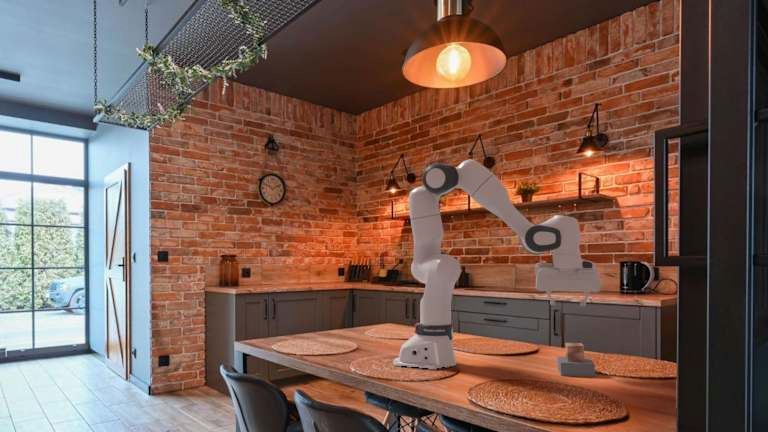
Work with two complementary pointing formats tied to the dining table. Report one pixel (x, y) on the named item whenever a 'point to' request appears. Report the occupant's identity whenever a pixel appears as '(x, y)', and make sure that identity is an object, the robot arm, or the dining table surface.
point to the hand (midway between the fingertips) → (567, 305)
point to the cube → (575, 352)
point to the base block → (576, 367)
